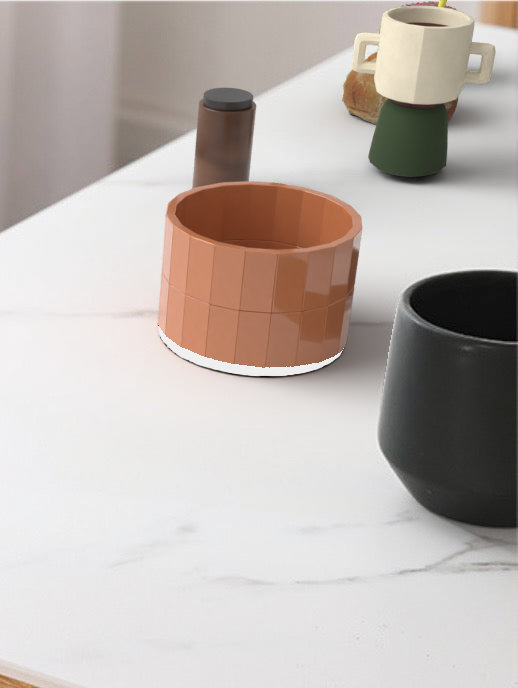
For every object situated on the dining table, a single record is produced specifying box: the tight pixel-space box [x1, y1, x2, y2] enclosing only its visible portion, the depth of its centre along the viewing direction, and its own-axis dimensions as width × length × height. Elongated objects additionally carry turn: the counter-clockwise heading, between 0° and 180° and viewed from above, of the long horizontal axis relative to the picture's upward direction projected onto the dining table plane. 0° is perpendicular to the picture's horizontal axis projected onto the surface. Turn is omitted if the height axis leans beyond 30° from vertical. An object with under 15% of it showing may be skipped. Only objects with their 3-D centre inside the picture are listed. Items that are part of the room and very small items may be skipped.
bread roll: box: [341, 51, 459, 126], centre depth 143 cm, size 10×10×8 cm
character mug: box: [351, 5, 496, 178], centre depth 128 cm, size 11×7×13 cm, turn 69°
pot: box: [157, 180, 363, 368], centre depth 102 cm, size 12×12×8 cm
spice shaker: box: [191, 87, 257, 189], centre depth 124 cm, size 4×4×8 cm
